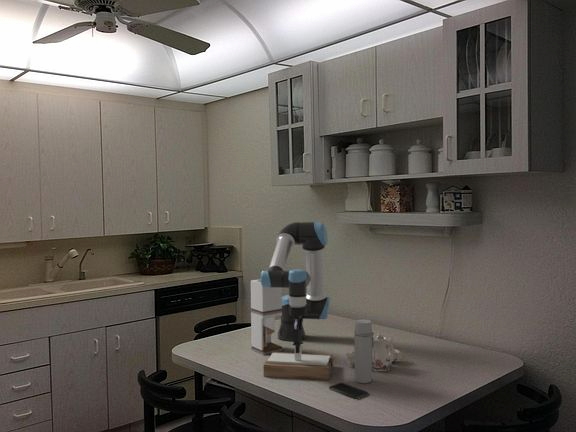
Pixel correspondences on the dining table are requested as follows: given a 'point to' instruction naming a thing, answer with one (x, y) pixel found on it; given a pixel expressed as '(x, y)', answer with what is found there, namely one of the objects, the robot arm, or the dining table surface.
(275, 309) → the wood-lined white cubby
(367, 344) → the water bottle
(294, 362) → the duct cover
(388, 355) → the chinaware
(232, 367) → the dining table surface
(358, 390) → the phone
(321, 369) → the wooden tray
